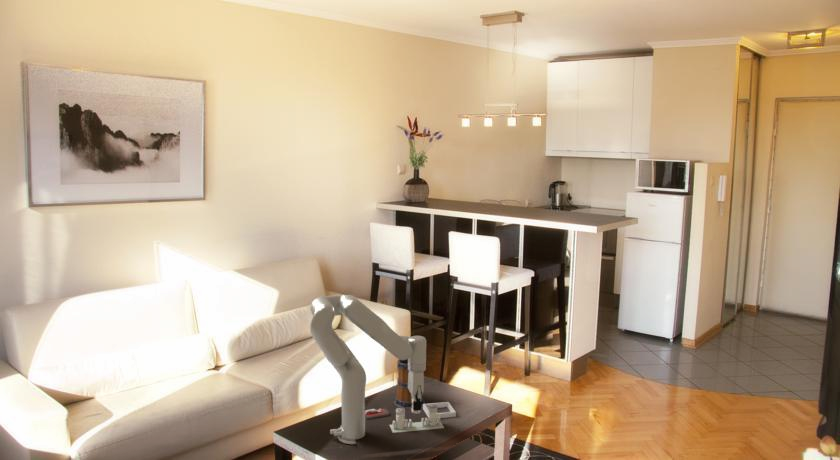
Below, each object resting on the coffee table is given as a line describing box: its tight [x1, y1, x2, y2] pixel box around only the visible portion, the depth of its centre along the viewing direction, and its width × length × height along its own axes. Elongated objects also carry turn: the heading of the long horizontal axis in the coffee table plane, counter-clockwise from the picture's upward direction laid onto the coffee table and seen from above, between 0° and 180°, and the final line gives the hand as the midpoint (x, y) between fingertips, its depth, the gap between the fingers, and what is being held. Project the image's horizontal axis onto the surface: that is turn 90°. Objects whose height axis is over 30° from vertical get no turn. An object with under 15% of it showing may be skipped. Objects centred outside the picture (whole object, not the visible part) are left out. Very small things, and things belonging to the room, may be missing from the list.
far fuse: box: [428, 405, 438, 427], centre depth 281 cm, size 4×4×8 cm
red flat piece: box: [365, 408, 390, 421], centre depth 291 cm, size 9×4×20 cm
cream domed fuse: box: [395, 407, 406, 430], centre depth 278 cm, size 4×4×8 cm
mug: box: [393, 359, 426, 409], centre depth 311 cm, size 19×14×20 cm
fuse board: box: [389, 417, 445, 434], centre depth 280 cm, size 22×8×4 cm, turn 103°
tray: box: [422, 401, 457, 419], centre depth 295 cm, size 12×12×4 cm
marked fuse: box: [410, 393, 422, 414], centre depth 279 cm, size 4×4×8 cm
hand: (415, 407), depth 279 cm, fingers closed on marked fuse, 3 cm apart
